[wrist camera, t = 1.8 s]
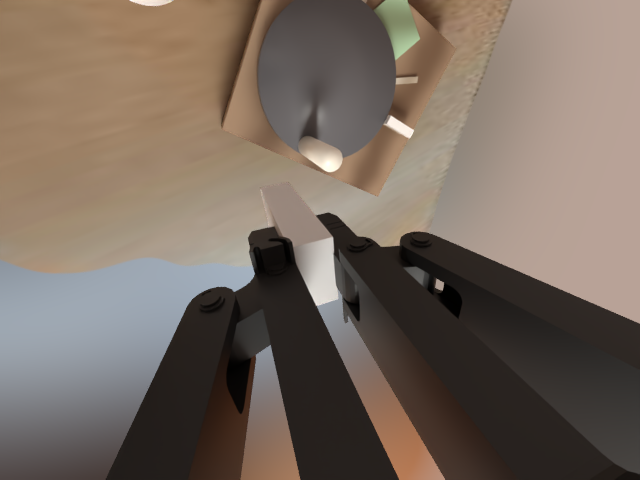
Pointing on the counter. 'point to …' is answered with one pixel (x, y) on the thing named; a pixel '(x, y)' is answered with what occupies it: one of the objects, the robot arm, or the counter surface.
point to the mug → (152, 2)
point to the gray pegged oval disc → (327, 79)
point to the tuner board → (408, 104)
